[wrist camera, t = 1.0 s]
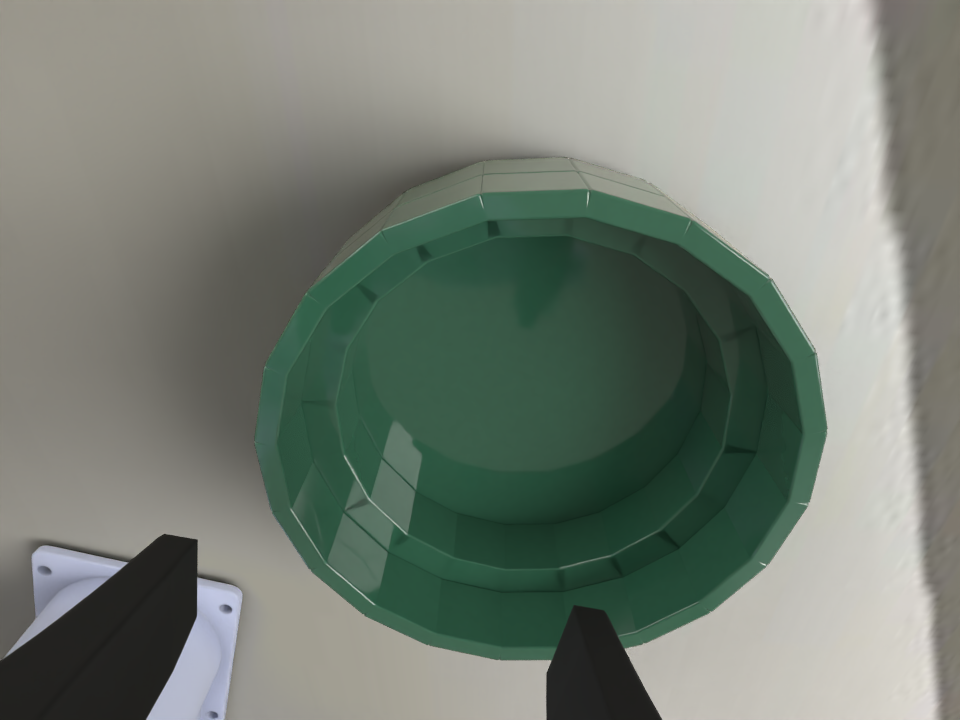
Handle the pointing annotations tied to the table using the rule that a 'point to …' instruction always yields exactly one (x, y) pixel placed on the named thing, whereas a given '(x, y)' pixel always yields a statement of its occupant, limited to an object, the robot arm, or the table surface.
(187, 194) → the table surface
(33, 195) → the table surface
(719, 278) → the bowl
